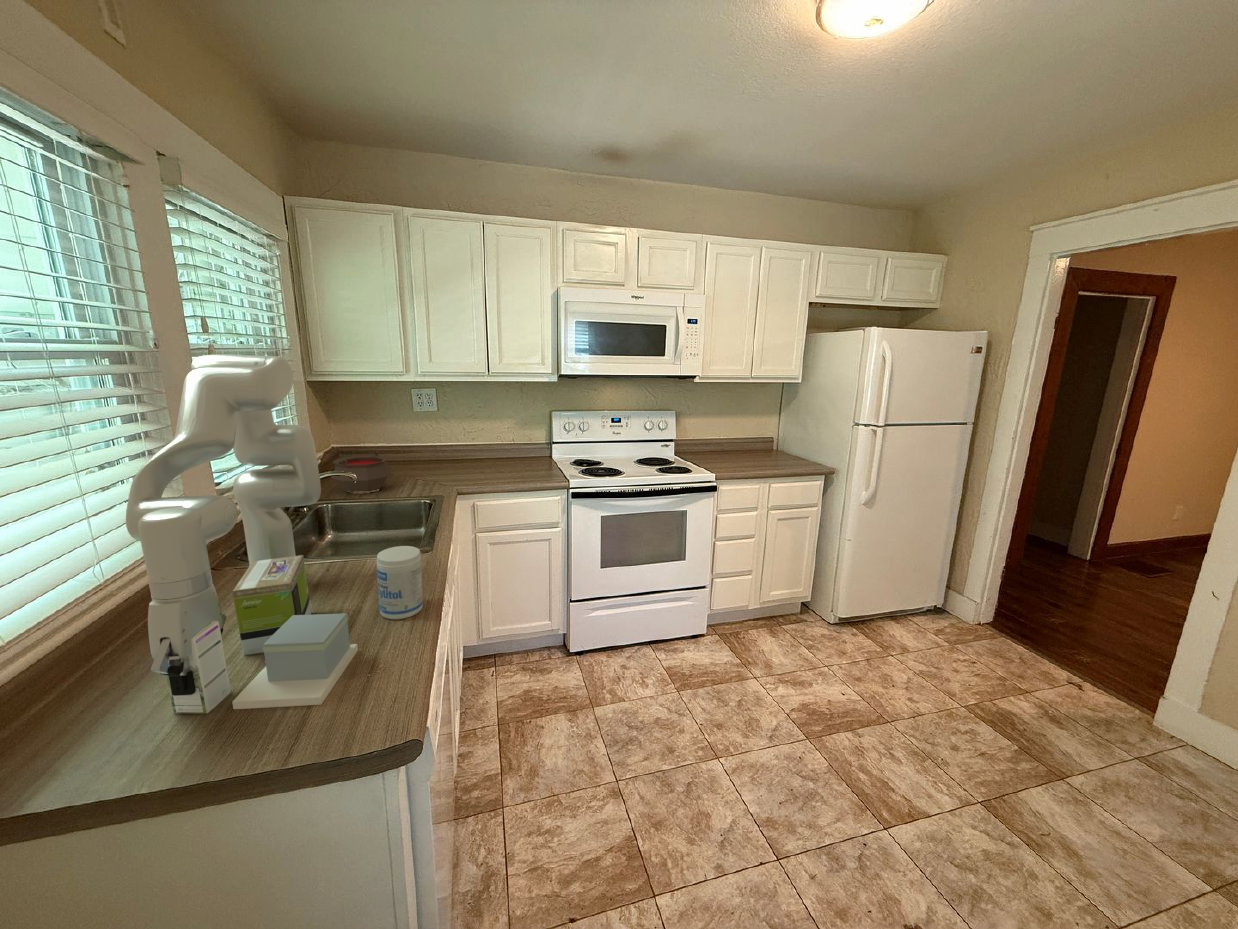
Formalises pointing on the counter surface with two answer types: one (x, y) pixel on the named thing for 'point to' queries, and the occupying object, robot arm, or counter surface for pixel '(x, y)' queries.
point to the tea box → (269, 599)
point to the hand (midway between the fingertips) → (199, 679)
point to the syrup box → (204, 673)
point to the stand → (300, 663)
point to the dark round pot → (362, 472)
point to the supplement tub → (399, 582)
